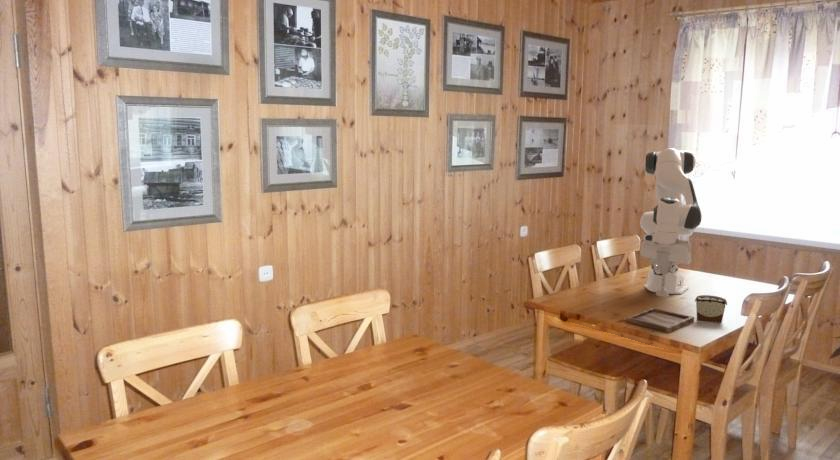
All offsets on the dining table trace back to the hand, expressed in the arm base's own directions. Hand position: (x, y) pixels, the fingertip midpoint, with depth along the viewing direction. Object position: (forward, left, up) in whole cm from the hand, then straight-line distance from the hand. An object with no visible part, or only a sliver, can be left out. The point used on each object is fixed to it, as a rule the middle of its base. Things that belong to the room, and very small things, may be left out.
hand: (664, 271), depth 254 cm
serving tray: (0, 0, -21) cm, 21 cm away
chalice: (0, 0, -10) cm, 10 cm away
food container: (-18, +12, -22) cm, 31 cm away
